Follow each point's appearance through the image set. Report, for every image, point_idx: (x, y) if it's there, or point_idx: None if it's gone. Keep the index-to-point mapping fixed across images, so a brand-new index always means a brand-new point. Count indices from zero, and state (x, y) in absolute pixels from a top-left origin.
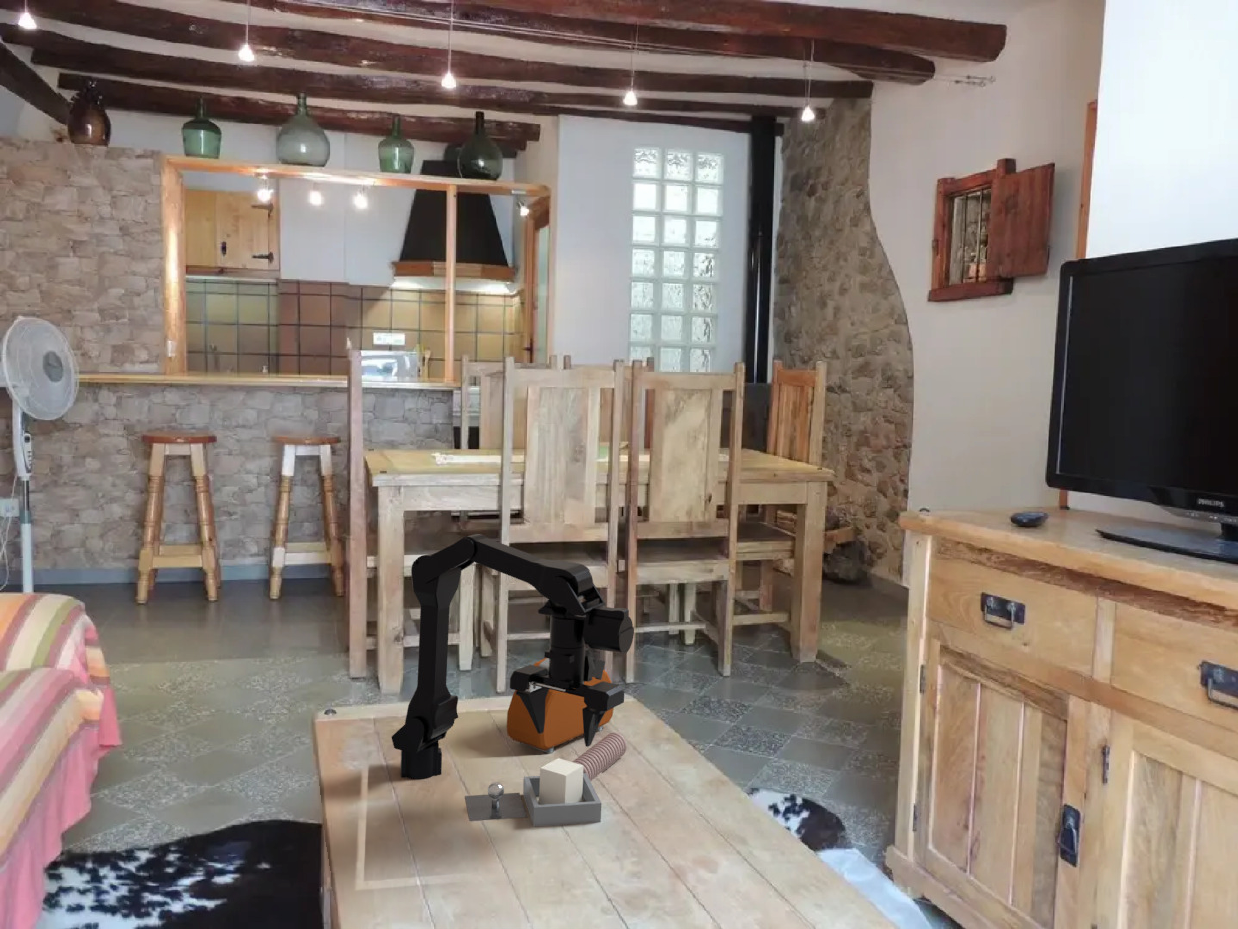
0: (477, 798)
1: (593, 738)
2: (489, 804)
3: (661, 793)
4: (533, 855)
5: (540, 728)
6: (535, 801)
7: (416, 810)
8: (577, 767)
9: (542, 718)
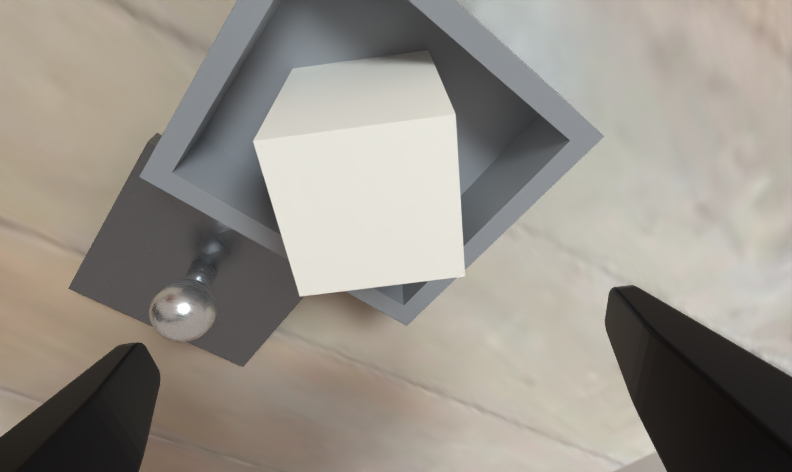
0: (109, 273)
1: (681, 313)
2: (177, 275)
3: None
4: (487, 340)
5: (143, 412)
6: (374, 296)
7: (64, 379)
8: (444, 162)
9: (80, 467)
